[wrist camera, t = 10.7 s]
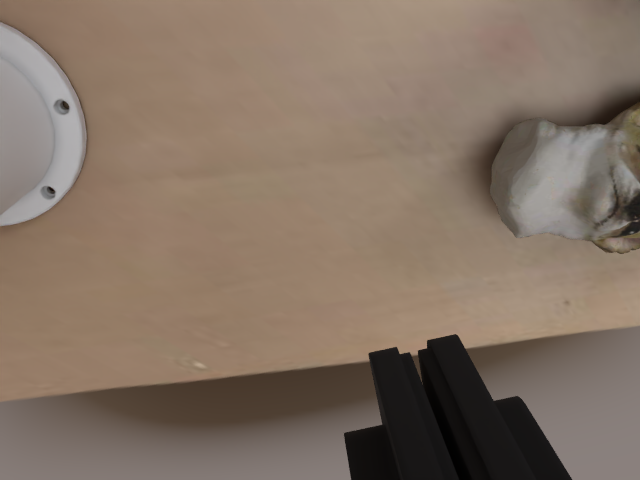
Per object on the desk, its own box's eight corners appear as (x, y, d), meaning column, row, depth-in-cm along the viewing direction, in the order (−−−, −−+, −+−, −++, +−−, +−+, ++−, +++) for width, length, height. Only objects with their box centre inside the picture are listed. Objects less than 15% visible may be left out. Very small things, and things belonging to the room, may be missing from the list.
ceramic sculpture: (543, 108, 27) (811, 113, 29) (474, 80, 35) (689, 86, 37) (504, 299, 31) (740, 291, 34) (450, 237, 39) (644, 233, 41)
